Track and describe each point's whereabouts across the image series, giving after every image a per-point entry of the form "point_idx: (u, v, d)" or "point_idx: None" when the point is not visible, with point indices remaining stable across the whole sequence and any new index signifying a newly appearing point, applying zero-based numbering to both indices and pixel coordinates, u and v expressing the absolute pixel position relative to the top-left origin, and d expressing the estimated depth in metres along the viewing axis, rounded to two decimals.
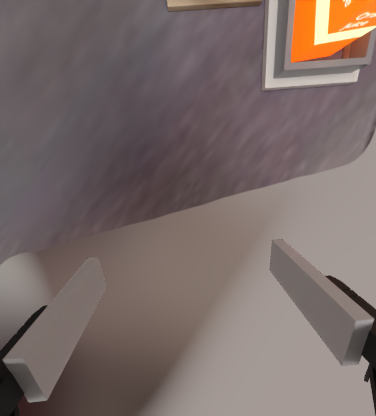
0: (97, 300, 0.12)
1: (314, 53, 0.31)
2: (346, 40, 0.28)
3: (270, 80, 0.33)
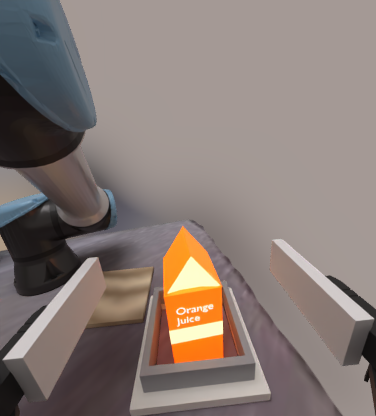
0: (97, 300, 0.12)
1: (192, 356, 0.26)
2: (211, 339, 0.26)
3: (139, 396, 0.23)
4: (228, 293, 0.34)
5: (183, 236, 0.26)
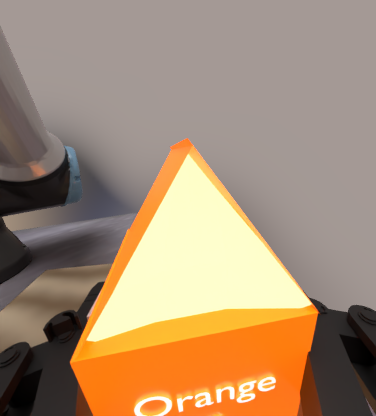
0: None
1: None
2: None
3: None
4: None
5: (170, 156, 0.09)
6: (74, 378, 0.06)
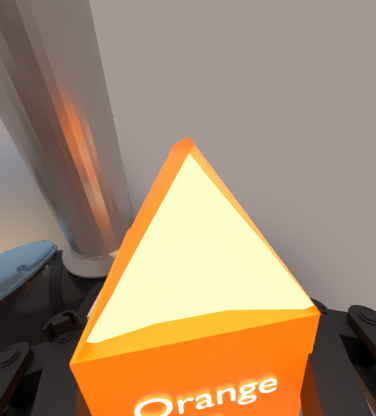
0: None
1: None
2: None
3: None
4: None
5: (170, 156, 0.09)
6: (74, 378, 0.06)
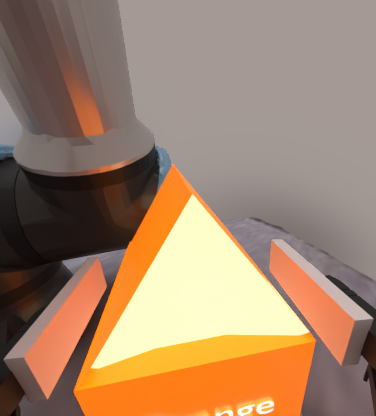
0: (97, 300, 0.12)
1: None
2: None
3: None
4: None
5: (171, 175, 0.09)
6: None
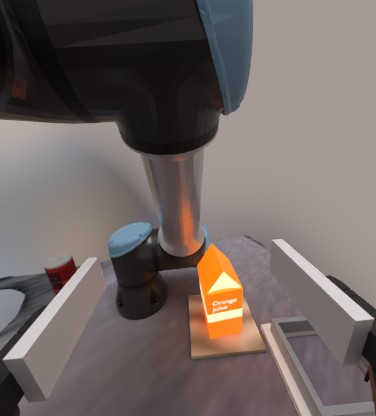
0: (97, 300, 0.12)
1: (221, 330, 0.39)
2: (234, 319, 0.38)
3: None
4: None
5: (213, 253, 0.37)
6: None
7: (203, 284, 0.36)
